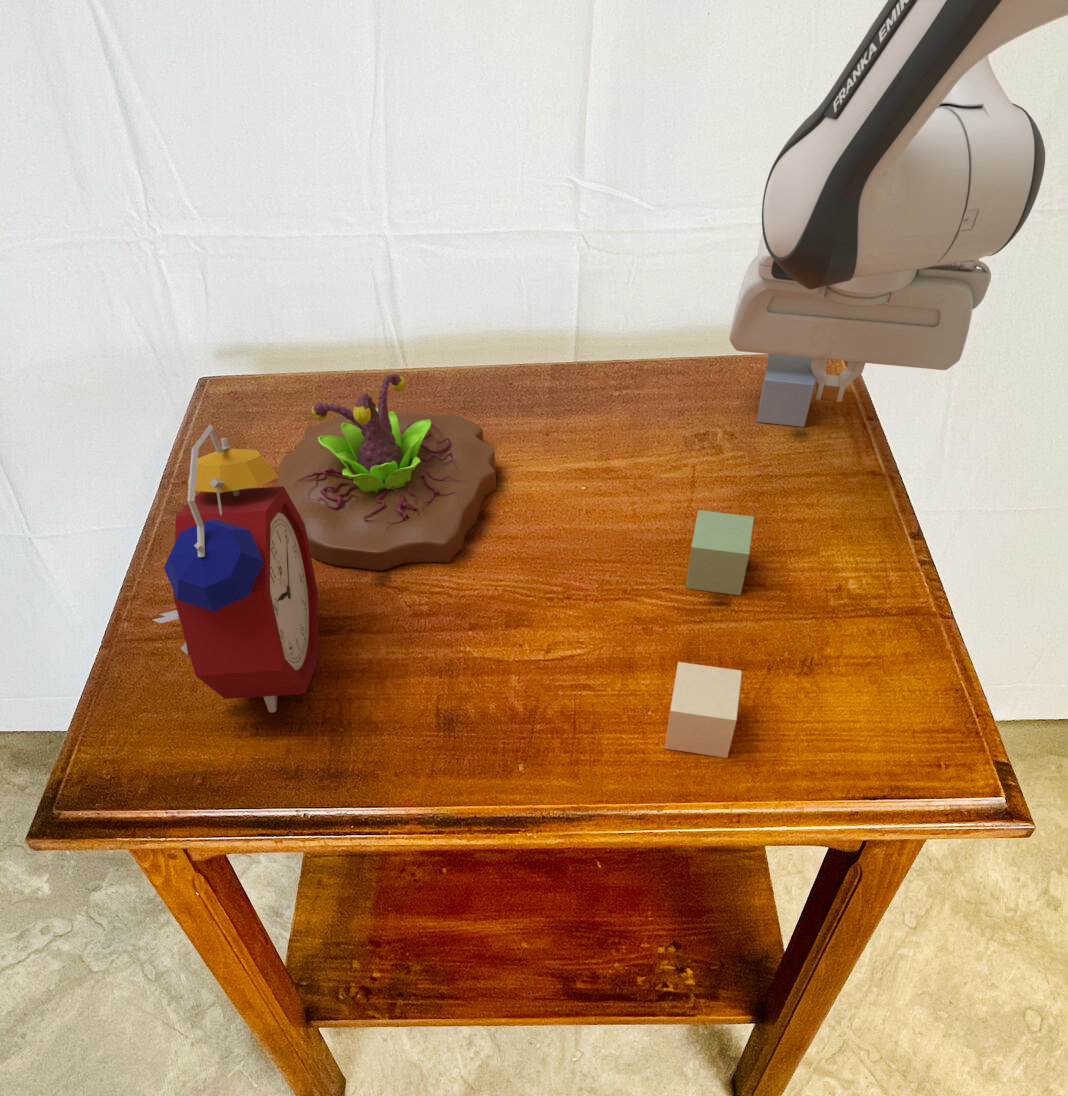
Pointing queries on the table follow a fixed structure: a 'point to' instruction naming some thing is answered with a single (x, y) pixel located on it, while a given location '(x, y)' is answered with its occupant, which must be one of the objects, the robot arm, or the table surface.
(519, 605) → the table surface
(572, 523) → the table surface
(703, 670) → the cream block
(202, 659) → the alarm clock
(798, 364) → the blue-grey block
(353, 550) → the plant
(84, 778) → the table surface
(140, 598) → the table surface
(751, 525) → the sage block
